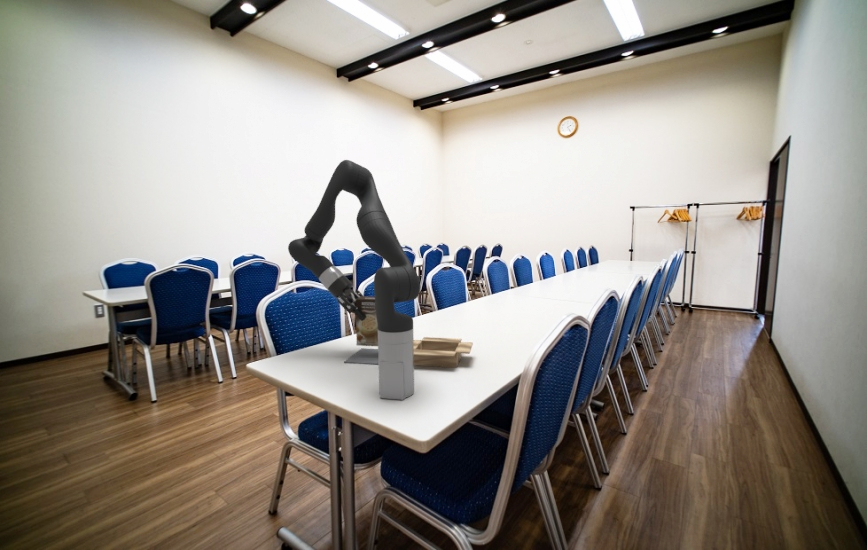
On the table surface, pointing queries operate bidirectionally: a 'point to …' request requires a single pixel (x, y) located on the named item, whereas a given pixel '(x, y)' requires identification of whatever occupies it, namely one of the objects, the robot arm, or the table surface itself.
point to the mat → (364, 357)
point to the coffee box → (367, 322)
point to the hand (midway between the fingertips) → (368, 316)
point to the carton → (440, 351)
